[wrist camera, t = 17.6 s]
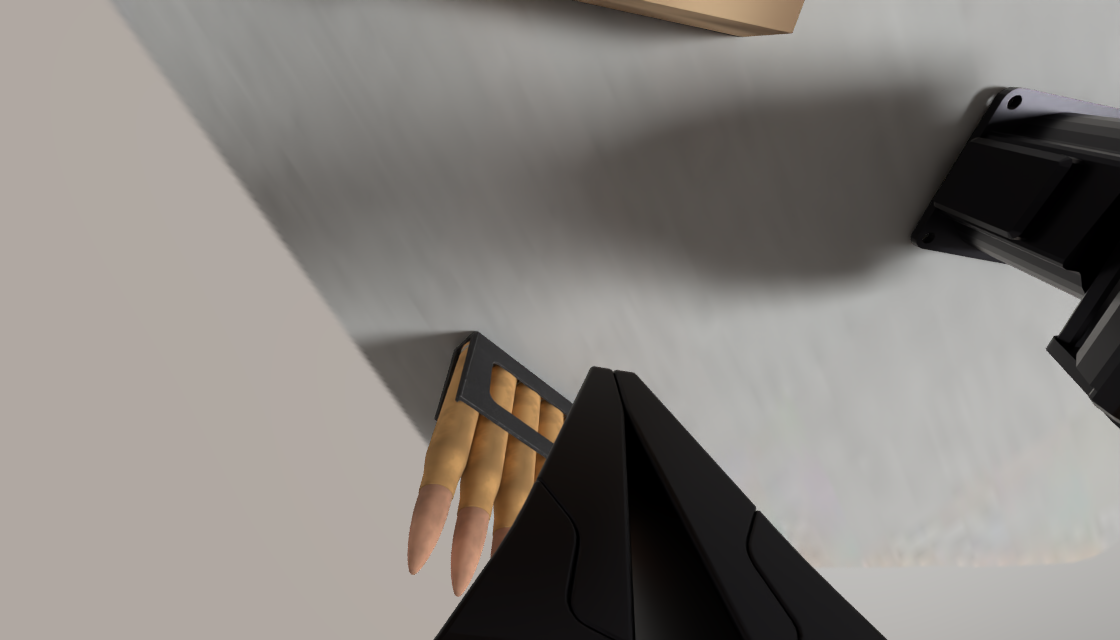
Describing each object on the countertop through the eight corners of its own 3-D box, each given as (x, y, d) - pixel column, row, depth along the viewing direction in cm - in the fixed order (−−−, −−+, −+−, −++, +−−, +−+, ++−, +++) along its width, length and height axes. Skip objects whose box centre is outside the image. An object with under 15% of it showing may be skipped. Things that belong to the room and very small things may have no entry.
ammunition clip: (453, 350, 24) (369, 573, 14) (475, 329, 23) (403, 548, 13) (591, 450, 28) (605, 684, 18) (613, 434, 27) (641, 668, 17)
